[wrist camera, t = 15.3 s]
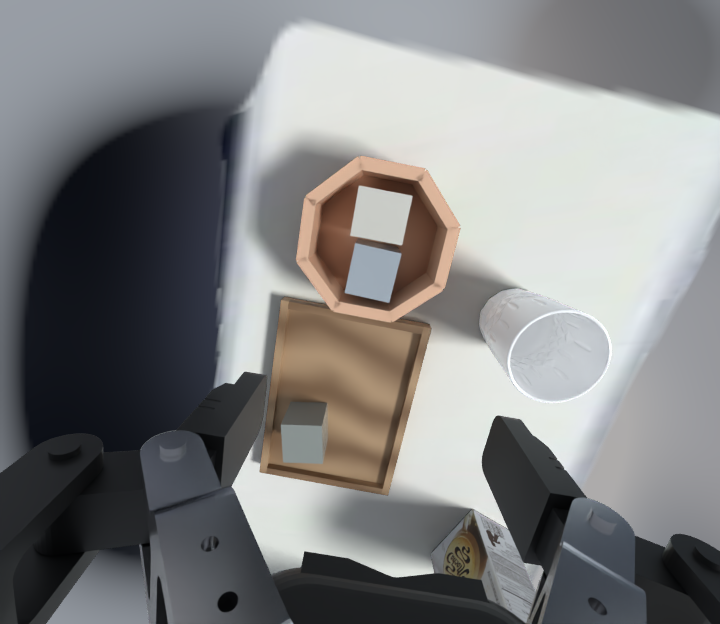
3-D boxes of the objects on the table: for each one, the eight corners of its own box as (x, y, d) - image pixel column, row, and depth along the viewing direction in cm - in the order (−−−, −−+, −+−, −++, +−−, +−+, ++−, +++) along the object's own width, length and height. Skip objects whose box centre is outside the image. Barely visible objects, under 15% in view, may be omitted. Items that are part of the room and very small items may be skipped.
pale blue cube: (387, 290, 36) (389, 302, 31) (348, 281, 36) (344, 293, 31) (397, 247, 34) (401, 253, 30) (357, 238, 34) (355, 243, 30)
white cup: (462, 343, 38) (492, 389, 28) (488, 273, 36) (530, 298, 26) (532, 361, 38) (584, 413, 29) (562, 293, 36) (630, 324, 26)
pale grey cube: (398, 240, 34) (402, 245, 29) (353, 231, 34) (350, 235, 29) (407, 197, 33) (412, 195, 28) (361, 188, 33) (358, 185, 28)
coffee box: (468, 573, 47) (514, 752, 32) (428, 552, 46) (456, 725, 31) (512, 530, 45) (585, 700, 29) (471, 507, 44) (524, 669, 29)
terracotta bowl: (424, 312, 37) (433, 330, 31) (302, 289, 37) (290, 303, 31) (457, 182, 33) (473, 178, 28) (321, 156, 33) (311, 145, 28)
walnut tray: (387, 486, 44) (387, 495, 42) (263, 464, 43) (259, 472, 42) (429, 324, 37) (431, 328, 36) (284, 296, 37) (281, 300, 36)
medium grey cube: (328, 437, 41) (322, 463, 37) (292, 436, 41) (283, 462, 37) (327, 402, 40) (321, 425, 36) (290, 401, 40) (280, 424, 36)
